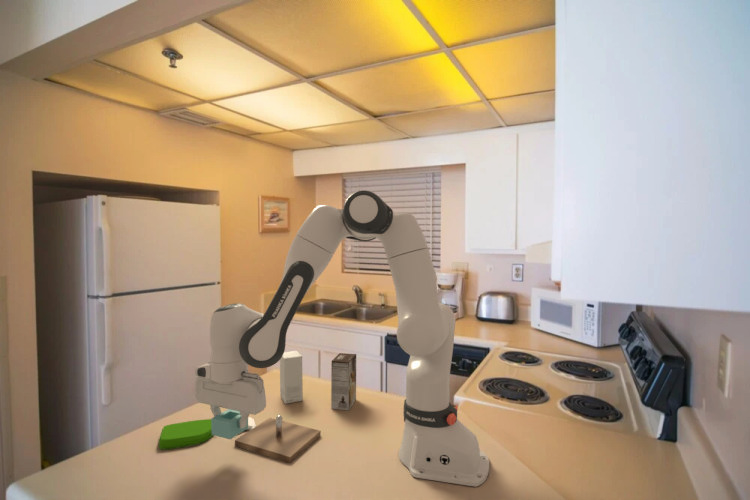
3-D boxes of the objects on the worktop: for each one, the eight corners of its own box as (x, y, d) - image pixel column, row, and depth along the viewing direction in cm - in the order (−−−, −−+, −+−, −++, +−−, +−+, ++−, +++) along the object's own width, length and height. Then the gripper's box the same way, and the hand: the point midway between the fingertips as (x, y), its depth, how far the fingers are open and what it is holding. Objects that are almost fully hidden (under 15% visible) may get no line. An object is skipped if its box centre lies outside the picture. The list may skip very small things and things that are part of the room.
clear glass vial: (283, 436, 101) (283, 414, 101) (279, 439, 100) (279, 417, 100) (278, 435, 102) (278, 413, 102) (274, 437, 101) (274, 416, 101)
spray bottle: (162, 433, 105) (253, 419, 114) (157, 454, 95) (256, 437, 104) (163, 423, 105) (253, 410, 114) (157, 443, 95) (256, 426, 104)
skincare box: (303, 401, 126) (303, 356, 126) (283, 404, 123) (284, 358, 123) (297, 392, 134) (297, 349, 134) (278, 395, 131) (279, 351, 131)
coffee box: (338, 397, 130) (339, 352, 129) (356, 399, 128) (357, 353, 128) (330, 409, 121) (331, 360, 120) (349, 411, 120) (349, 362, 119)
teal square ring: (248, 428, 93) (248, 412, 93) (230, 439, 88) (230, 422, 88) (230, 423, 96) (230, 408, 96) (211, 434, 90) (211, 418, 90)
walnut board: (320, 436, 104) (320, 430, 104) (290, 462, 91) (290, 456, 91) (269, 422, 111) (269, 417, 111) (234, 445, 98) (234, 440, 98)
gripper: (271, 370, 90) (272, 426, 91) (209, 361, 99) (210, 412, 99) (253, 379, 85) (254, 439, 85) (189, 368, 93) (190, 422, 93)
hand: (230, 424), depth 92 cm, fingers closed on teal square ring, 6 cm apart
